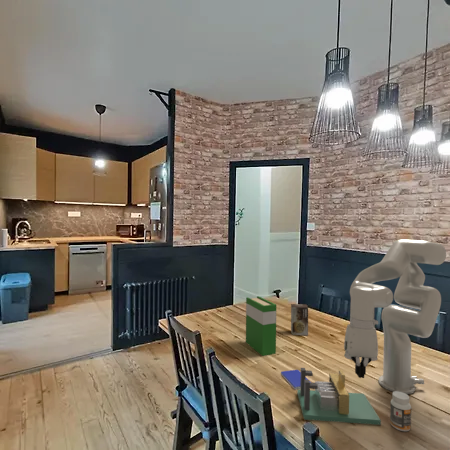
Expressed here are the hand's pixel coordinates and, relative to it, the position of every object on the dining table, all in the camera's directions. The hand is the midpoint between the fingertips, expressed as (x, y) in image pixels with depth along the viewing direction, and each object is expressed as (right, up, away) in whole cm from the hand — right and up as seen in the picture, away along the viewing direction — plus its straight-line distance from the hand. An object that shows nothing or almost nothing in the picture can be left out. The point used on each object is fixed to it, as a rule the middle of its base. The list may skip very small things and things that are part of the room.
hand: (360, 376), depth 105 cm
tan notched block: (-7, -10, +1) cm, 12 cm away
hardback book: (-29, -11, +50) cm, 59 cm away
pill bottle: (+9, -12, -8) cm, 17 cm away
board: (-8, -12, +1) cm, 14 cm away
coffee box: (-4, -11, +71) cm, 72 cm away
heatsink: (-10, -10, +1) cm, 14 cm away
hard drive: (-17, -12, +19) cm, 29 cm away
